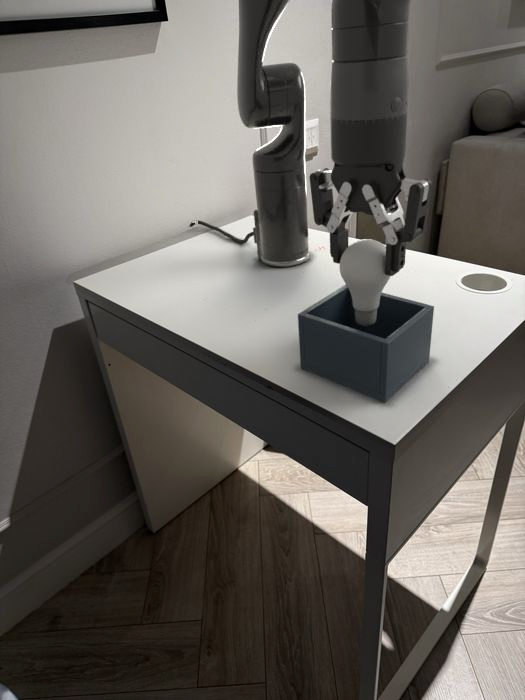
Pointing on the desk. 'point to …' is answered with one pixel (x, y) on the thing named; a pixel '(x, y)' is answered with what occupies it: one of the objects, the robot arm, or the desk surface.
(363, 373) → the bin
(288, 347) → the desk surface
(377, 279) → the lightbulb
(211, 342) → the desk surface
